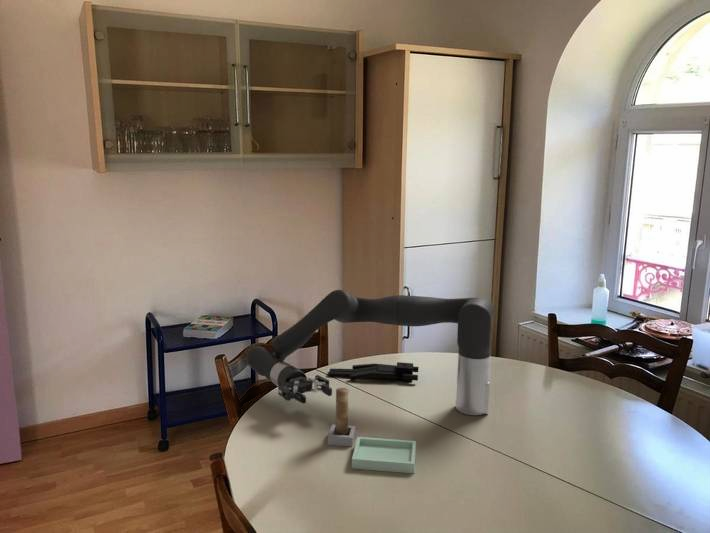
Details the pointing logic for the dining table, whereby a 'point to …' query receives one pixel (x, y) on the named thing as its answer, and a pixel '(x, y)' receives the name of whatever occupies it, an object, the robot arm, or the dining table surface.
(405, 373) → the toy
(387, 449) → the tray
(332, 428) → the holder
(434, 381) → the dining table surface
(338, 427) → the dowel
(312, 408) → the dining table surface
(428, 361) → the dining table surface
